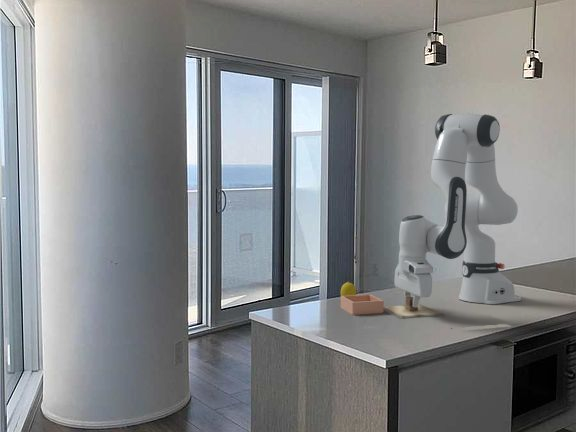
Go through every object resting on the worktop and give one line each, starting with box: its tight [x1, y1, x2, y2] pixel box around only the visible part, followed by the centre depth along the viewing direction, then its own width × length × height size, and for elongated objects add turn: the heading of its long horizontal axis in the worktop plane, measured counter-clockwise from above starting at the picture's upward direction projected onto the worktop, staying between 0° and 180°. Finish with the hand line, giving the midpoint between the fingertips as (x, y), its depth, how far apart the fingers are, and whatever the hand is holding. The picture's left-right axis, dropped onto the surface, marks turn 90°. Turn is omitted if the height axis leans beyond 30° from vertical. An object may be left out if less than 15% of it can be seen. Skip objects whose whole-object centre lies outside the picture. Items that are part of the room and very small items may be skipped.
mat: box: [383, 309, 446, 320], centre depth 209 cm, size 16×16×1 cm
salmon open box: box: [340, 293, 385, 316], centre depth 211 cm, size 11×11×5 cm
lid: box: [384, 296, 442, 319], centre depth 209 cm, size 14×14×5 cm
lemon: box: [340, 281, 357, 297], centre depth 226 cm, size 6×6×8 cm
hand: (411, 305), depth 209 cm, fingers closed on lid, 3 cm apart
